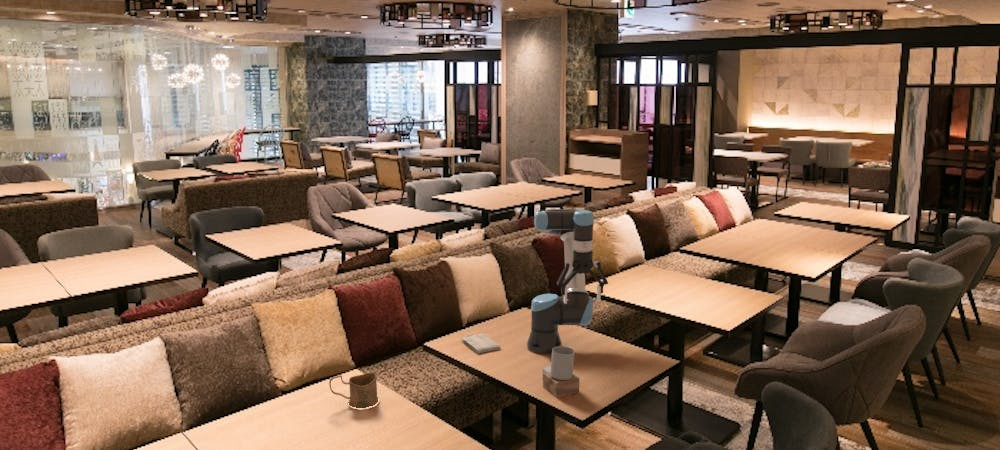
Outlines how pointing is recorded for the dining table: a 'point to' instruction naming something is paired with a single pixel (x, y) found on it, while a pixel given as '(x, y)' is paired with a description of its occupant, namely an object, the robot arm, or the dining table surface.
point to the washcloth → (480, 343)
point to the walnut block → (560, 385)
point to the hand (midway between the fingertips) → (581, 302)
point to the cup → (562, 363)
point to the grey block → (546, 369)
